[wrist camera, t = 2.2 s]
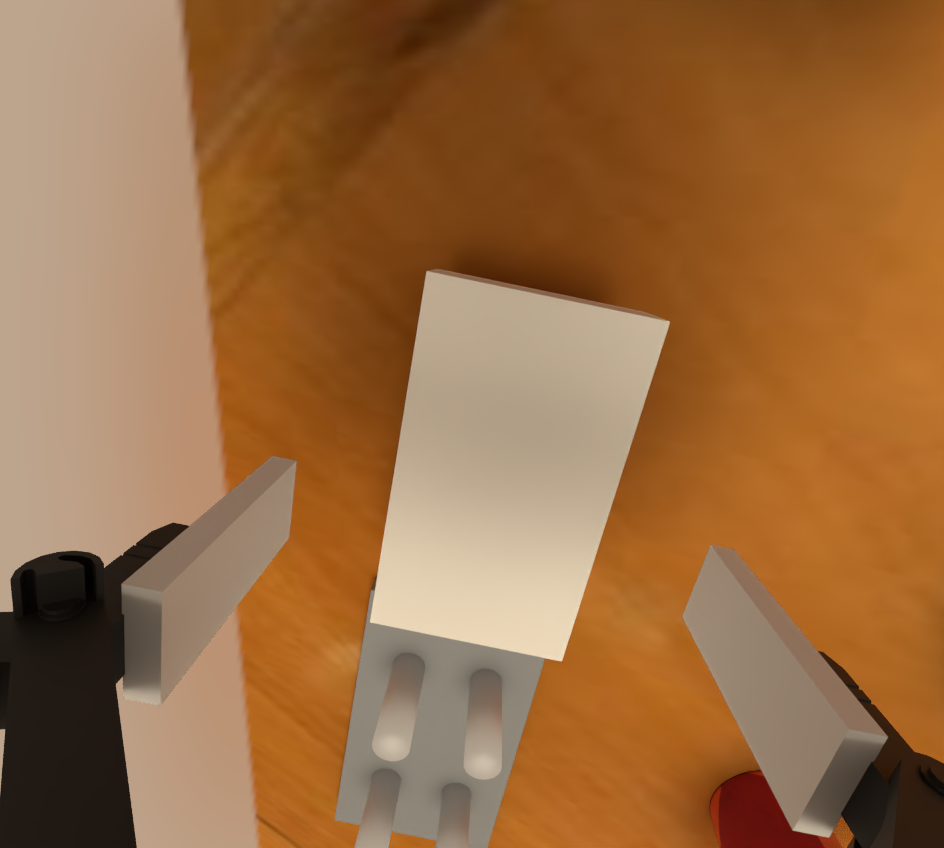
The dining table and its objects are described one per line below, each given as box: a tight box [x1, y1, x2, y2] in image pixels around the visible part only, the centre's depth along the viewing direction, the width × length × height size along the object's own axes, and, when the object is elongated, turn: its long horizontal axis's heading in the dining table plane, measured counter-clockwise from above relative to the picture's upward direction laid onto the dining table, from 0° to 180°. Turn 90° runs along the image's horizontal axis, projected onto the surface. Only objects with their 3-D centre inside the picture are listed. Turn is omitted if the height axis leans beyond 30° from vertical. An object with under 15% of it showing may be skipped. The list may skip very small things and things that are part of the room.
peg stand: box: [335, 577, 545, 848], centre depth 28 cm, size 18×10×6 cm, turn 169°
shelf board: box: [370, 269, 670, 661], centre depth 20 cm, size 14×8×3 cm, turn 169°
